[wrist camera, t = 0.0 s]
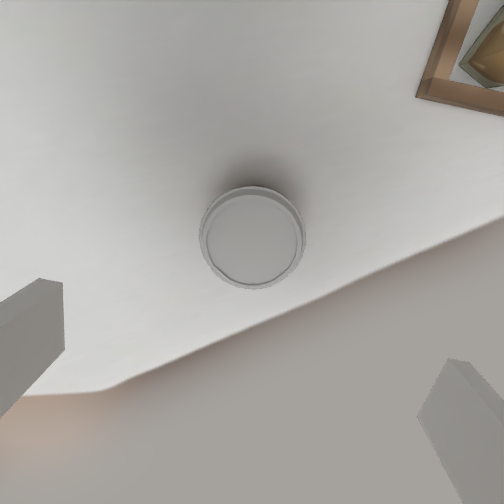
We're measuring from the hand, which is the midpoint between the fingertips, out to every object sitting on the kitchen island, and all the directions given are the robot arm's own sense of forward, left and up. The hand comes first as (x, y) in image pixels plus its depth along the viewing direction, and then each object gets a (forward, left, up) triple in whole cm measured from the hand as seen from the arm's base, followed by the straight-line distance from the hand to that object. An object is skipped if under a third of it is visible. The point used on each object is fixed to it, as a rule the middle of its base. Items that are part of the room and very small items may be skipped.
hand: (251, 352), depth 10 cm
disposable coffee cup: (+2, 0, -28) cm, 28 cm away
